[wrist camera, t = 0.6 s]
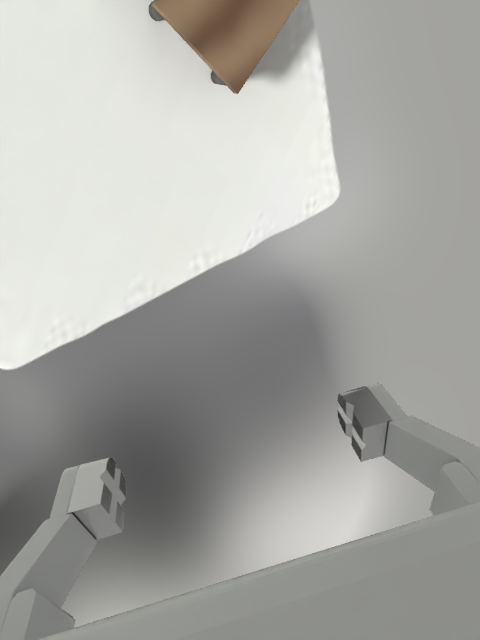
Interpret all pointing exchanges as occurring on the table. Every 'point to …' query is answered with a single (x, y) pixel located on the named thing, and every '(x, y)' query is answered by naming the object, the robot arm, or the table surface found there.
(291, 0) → the peg shelf
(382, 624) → the robot arm
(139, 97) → the table surface
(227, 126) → the table surface
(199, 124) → the table surface
